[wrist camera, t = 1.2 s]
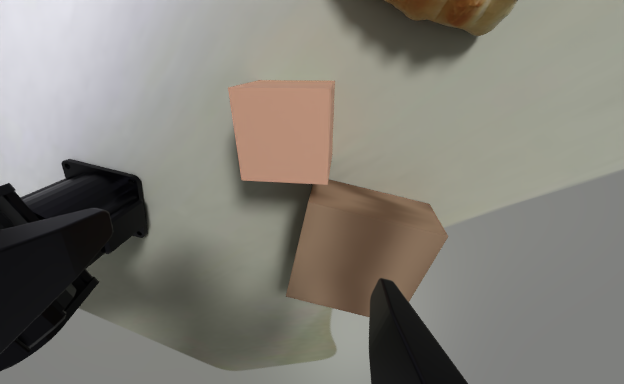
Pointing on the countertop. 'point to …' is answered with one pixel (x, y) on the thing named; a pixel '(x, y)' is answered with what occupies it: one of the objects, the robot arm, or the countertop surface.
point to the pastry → (458, 12)
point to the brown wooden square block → (361, 246)
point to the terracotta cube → (284, 130)
